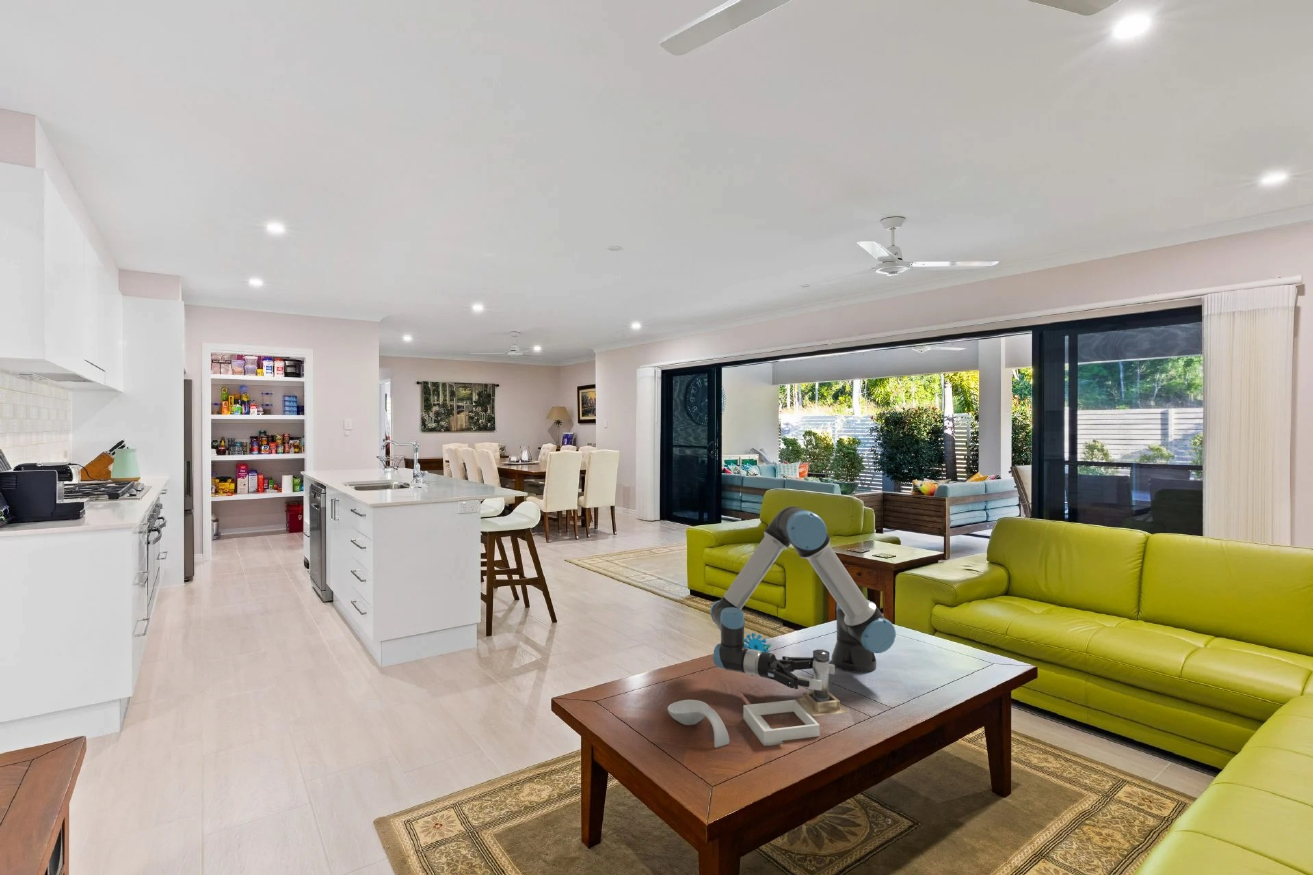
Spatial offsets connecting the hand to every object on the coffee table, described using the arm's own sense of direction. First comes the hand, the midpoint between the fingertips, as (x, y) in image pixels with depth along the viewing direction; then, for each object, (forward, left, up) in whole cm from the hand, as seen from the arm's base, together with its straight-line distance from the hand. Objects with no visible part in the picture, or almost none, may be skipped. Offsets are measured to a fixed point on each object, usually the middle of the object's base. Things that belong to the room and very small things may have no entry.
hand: (828, 677), depth 191 cm
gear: (+4, -46, -10) cm, 47 cm away
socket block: (+1, -2, -10) cm, 10 cm away
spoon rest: (+40, +2, -10) cm, 42 cm away
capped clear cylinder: (+1, -2, -9) cm, 9 cm away
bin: (+18, +7, -10) cm, 22 cm away
